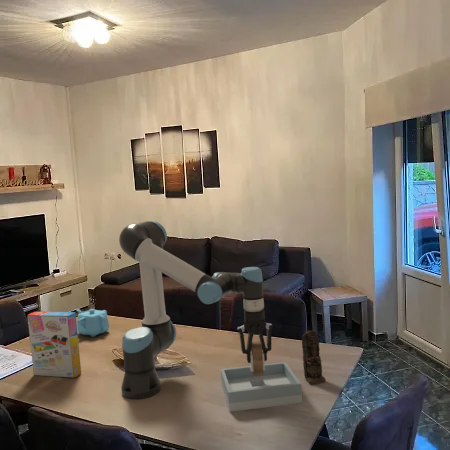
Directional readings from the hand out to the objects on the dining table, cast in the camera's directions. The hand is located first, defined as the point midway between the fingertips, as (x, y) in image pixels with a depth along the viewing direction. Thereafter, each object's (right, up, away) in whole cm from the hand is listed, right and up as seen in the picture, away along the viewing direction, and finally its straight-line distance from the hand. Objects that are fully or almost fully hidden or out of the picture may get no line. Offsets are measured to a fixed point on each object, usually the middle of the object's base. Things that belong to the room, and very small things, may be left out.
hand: (257, 369), depth 172 cm
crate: (+1, -9, -2) cm, 9 cm away
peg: (0, -2, 0) cm, 2 cm away
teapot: (-86, -5, +80) cm, 117 cm away
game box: (-85, -11, +26) cm, 90 cm away
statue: (+23, -7, +7) cm, 25 cm away
